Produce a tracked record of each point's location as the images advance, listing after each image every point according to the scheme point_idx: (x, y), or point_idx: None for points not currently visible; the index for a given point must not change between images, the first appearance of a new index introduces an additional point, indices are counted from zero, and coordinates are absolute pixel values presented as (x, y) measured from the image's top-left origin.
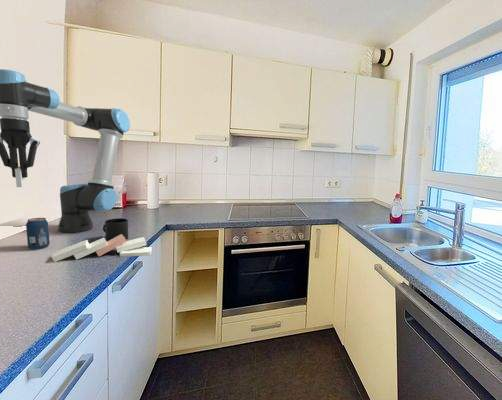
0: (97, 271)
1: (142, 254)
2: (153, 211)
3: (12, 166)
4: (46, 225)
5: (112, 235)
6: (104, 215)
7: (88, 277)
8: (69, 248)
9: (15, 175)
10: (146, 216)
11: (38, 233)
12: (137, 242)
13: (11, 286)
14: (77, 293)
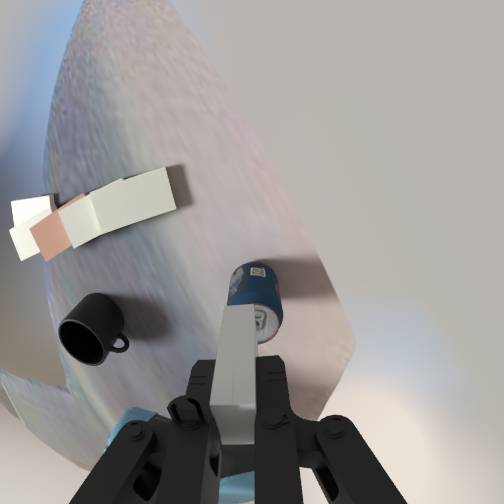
0: (68, 115)
1: (22, 199)
2: None
3: (275, 421)
4: None
5: (92, 302)
6: None
7: (76, 89)
8: (133, 198)
9: (254, 358)
10: None
11: (241, 282)
12: (20, 224)
13: (191, 50)
14: (80, 37)
